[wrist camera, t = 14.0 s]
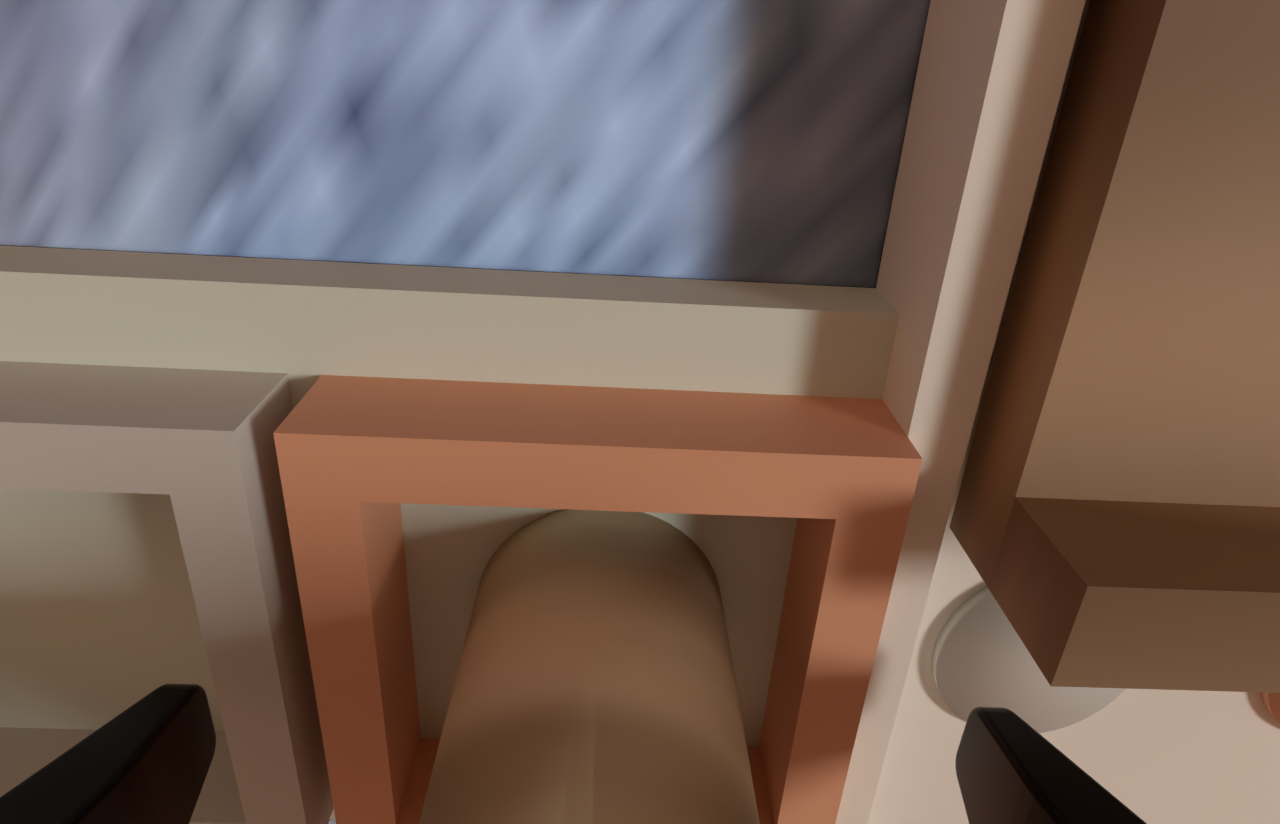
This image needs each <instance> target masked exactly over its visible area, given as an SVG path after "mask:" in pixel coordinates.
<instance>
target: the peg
mask: <svg viewBox="0 0 1280 824" xmlns="http://www.w3.org/2000/svg"><path fill="white" fill-rule="evenodd" d="M419 824H760V822H759V817H758V811H757V805H756V799H755V793H754V787H753V781H752V775H751V769H750V763H749V758H748V752H747V746H746V740H745V734H744V728H743V722H742V716H741V710H740V704H739V699H738V693H737V687H736V681H735V675H734V669H733V663H732V657H731V651H730V645H729V640H728V634H727V628H726V622H725V616H724V610H723V604H722V598H721V592H720V587H719V583H718V580H717V576H716V574H715V572H714V569H713V567H712V565H711V563H710V561H709V560H708V559H707V557H706V556H705V554H704V553H703V551H702V550H701V549H700V548H699V547H698V546H697V545H696V544H695V542H694V541H693V540H692V539H690V538H689V537H688V536H687V535H685V534H684V533H683V532H682V531H681V530H679V529H677V528H676V527H674V526H673V525H671V524H669V523H668V522H666V521H664V520H661V519H659V518H657V517H655V516H653V515H650V514H647V513H644V512H626V511H599V510H572V509H564V510H560V511H556V512H553V513H550V514H548V515H545V516H542V517H540V518H538V519H536V520H534V521H532V522H530V523H528V524H526V525H524V526H523V527H521V528H520V529H519V530H517V531H516V532H514V533H513V534H512V535H510V536H509V537H508V538H507V539H506V540H505V541H504V542H503V543H502V544H501V545H500V546H499V547H498V549H497V550H496V551H495V552H494V554H493V555H492V556H491V558H490V560H489V561H488V563H487V565H486V567H485V569H484V572H483V574H482V577H481V579H480V583H479V587H478V591H477V595H476V599H475V603H474V607H473V611H472V615H471V619H470V623H469V627H468V631H467V635H466V639H465V643H464V647H463V651H462V655H461V659H460V663H459V667H458V671H457V675H456V679H455V683H454V687H453V691H452V695H451V699H450V703H449V706H448V710H447V714H446V718H445V722H444V726H443V730H442V734H441V738H440V742H439V746H438V750H437V754H436V758H435V762H434V766H433V770H432V774H431V778H430V782H429V786H428V790H427V794H426V798H425V802H424V806H423V810H422V814H421V818H420V822H419Z"/></svg>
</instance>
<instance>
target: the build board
mask: <svg viewBox="0 0 1280 824" xmlns="http://www.w3.org/2000/svg"><path fill="white" fill-rule="evenodd" d="M899 315H900V314H899V313H898V312H897V311H896V310H895V308H894V307H893V306H892V305H891V304H890V303H889V302H888V301H887V300H886V299H885V298H884V297H883V295H882V294H881V293H880V292H879V291H878V290H877V289H876V288H859V287H839V286H818V285H798V284H778V283H757V282H737V281H716V280H696V279H675V278H655V277H634V276H614V275H593V274H573V273H553V272H532V271H512V270H491V269H471V268H450V267H430V266H409V265H389V264H368V263H348V262H327V261H307V260H287V259H266V258H246V257H225V256H205V255H184V254H164V253H143V252H123V251H102V250H82V249H62V248H41V247H21V246H0V797H1V796H2V795H4V794H5V793H7V792H8V791H10V790H11V789H12V788H14V787H15V786H17V785H18V784H20V783H21V782H23V781H24V780H25V779H27V778H28V777H30V776H31V775H33V774H34V773H35V772H37V771H38V770H40V769H41V768H43V767H44V766H46V765H47V764H48V763H50V762H51V761H53V760H54V759H56V758H57V757H58V756H60V755H61V754H63V753H64V752H66V751H67V750H69V749H70V748H71V747H73V746H74V745H76V744H77V743H79V742H80V741H81V740H83V739H84V738H86V737H87V736H89V735H90V734H91V733H93V732H94V731H96V730H97V729H99V728H100V727H102V726H103V725H104V724H106V723H107V722H109V721H110V720H112V719H113V718H114V717H116V716H117V715H119V714H120V713H122V712H123V711H125V710H126V709H127V708H129V707H130V706H132V705H133V704H135V703H136V702H137V701H139V700H140V699H142V698H143V697H145V696H146V695H148V694H149V693H150V692H152V691H153V690H155V689H156V688H158V687H160V686H162V685H164V684H197V685H200V686H201V687H202V688H203V689H204V690H205V692H206V695H207V699H208V703H209V708H210V712H211V716H212V720H213V724H214V728H215V733H216V748H215V753H214V756H213V759H212V762H211V765H210V768H209V770H208V773H207V776H206V779H205V781H204V784H203V787H202V790H201V792H200V795H199V798H198V801H197V803H196V806H195V809H194V812H193V814H192V817H191V820H190V823H189V824H328V822H329V820H336V824H419V822H420V818H421V814H422V810H423V806H424V802H425V798H426V794H427V790H428V786H429V782H430V778H431V774H432V770H433V766H434V762H435V758H436V754H437V750H438V746H439V742H440V738H441V734H442V730H443V726H444V722H445V718H446V714H447V710H448V706H449V703H450V699H451V695H452V691H453V687H454V683H455V679H456V675H457V671H458V667H459V663H460V659H461V655H462V651H463V647H464V643H465V639H466V635H467V631H468V627H469V623H470V619H471V615H472V611H473V607H474V603H475V599H476V595H477V591H478V587H479V583H480V579H481V577H482V574H483V572H484V569H485V567H486V565H487V563H488V561H489V560H490V558H491V556H492V555H493V554H494V552H495V551H496V550H497V549H498V547H499V546H500V545H501V544H502V543H503V542H504V541H505V540H506V539H507V538H508V537H509V536H510V535H512V534H513V533H514V532H516V531H517V530H519V529H520V528H521V527H523V526H524V525H526V524H528V523H530V522H532V521H534V520H536V519H538V518H540V517H542V516H545V515H548V514H550V513H553V512H556V511H560V510H564V509H572V510H599V511H626V512H644V513H647V514H650V515H653V516H655V517H657V518H659V519H661V520H664V521H666V522H668V523H669V524H671V525H673V526H674V527H676V528H677V529H679V530H681V531H682V532H683V533H684V534H685V535H687V536H688V537H689V538H690V539H692V540H693V541H694V542H695V544H696V545H697V546H698V547H699V548H700V549H701V550H702V551H703V553H704V554H705V556H706V557H707V559H708V560H709V561H710V563H711V565H712V567H713V569H714V572H715V574H716V576H717V580H718V583H719V587H720V592H721V598H722V604H723V610H724V616H725V622H726V628H727V634H728V640H729V645H730V651H731V657H732V663H733V669H734V675H735V681H736V687H737V693H738V699H739V704H740V710H741V716H742V722H743V728H744V734H745V740H746V746H747V752H748V758H749V763H750V769H751V775H752V781H753V787H754V793H755V799H756V805H757V811H758V817H759V822H760V824H835V823H836V819H837V815H838V810H839V806H840V802H841V798H842V794H843V789H844V785H845V781H846V777H847V773H848V769H849V764H850V760H851V756H852V752H853V748H854V744H855V739H856V735H857V731H858V727H859V723H860V718H861V714H862V710H863V706H864V702H865V698H866V693H867V689H868V685H869V681H870V677H871V673H872V668H873V664H874V660H875V656H876V652H877V647H878V643H879V639H880V635H881V631H882V627H883V622H884V618H885V614H886V610H887V606H888V602H889V597H890V593H891V589H892V585H893V581H894V576H895V572H896V568H897V564H898V560H899V556H900V551H901V547H902V543H903V539H904V535H905V531H906V526H907V522H908V518H909V514H910V510H911V505H912V501H913V497H914V493H915V489H916V485H917V480H918V476H919V472H920V468H921V464H922V460H923V459H922V457H921V456H920V454H919V453H918V451H917V450H916V448H915V447H914V445H913V444H912V442H911V441H910V440H909V438H908V437H907V435H906V434H905V432H904V431H903V429H902V428H901V426H900V425H899V423H898V422H897V420H896V419H895V417H894V416H893V414H892V413H891V411H890V410H889V408H888V407H887V405H886V404H885V402H884V401H883V399H882V398H883V393H884V388H885V383H886V378H887V373H888V369H889V364H890V359H891V354H892V349H893V344H894V340H895V335H896V330H897V325H898V320H899Z"/></svg>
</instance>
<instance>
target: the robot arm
mask: <svg viewBox="0 0 1280 824" xmlns="http://www.w3.org/2000/svg"><path fill="white" fill-rule="evenodd" d="M215 748H216V733H215V728H214V724H213V720H212V716H211V712H210V708H209V703H208V699H207V695H206V692H205V690H204V689H203V688H202V687H201V686H200V685H197V684H164V685H162V686H160V687H158V688H156V689H155V690H153V691H152V692H150V693H149V694H148V695H146V696H145V697H143V698H142V699H140V700H139V701H137V702H136V703H135V704H133V705H132V706H130V707H129V708H127V709H126V710H125V711H123V712H122V713H120V714H119V715H117V716H116V717H114V718H113V719H112V720H110V721H109V722H107V723H106V724H104V725H103V726H102V727H100V728H99V729H97V730H96V731H94V732H93V733H91V734H90V735H89V736H87V737H86V738H84V739H83V740H81V741H80V742H79V743H77V744H76V745H74V746H73V747H71V748H70V749H69V750H67V751H66V752H64V753H63V754H61V755H60V756H58V757H57V758H56V759H54V760H53V761H51V762H50V763H48V764H47V765H46V766H44V767H43V768H41V769H40V770H38V771H37V772H35V773H34V774H33V775H31V776H30V777H28V778H27V779H25V780H24V781H23V782H21V783H20V784H18V785H17V786H15V787H14V788H12V789H11V790H10V791H8V792H7V793H5V794H4V795H2V796H1V797H0V824H189V823H190V820H191V817H192V814H193V812H194V809H195V806H196V803H197V801H198V798H199V795H200V792H201V790H202V787H203V784H204V781H205V779H206V776H207V773H208V770H209V768H210V765H211V762H212V759H213V756H214V753H215ZM955 767H956V775H957V779H958V783H959V787H960V791H961V794H962V798H963V802H964V806H965V810H966V814H967V817H968V821H969V824H1147V823H1146V822H1145V821H1143V820H1142V819H1141V818H1140V817H1139V816H1137V815H1136V814H1135V813H1134V812H1133V811H1131V810H1130V809H1129V808H1128V807H1127V806H1125V805H1124V804H1123V803H1122V802H1121V801H1119V800H1118V799H1117V798H1116V797H1115V796H1113V795H1112V794H1111V793H1110V792H1109V791H1107V790H1106V789H1105V788H1104V787H1103V786H1101V785H1100V784H1099V783H1098V782H1097V781H1096V780H1094V779H1093V778H1092V777H1091V776H1090V775H1088V774H1087V773H1086V772H1085V771H1084V770H1082V769H1081V768H1080V767H1079V766H1078V765H1076V764H1075V763H1074V762H1073V761H1072V760H1070V759H1069V758H1068V757H1067V756H1066V755H1064V754H1063V753H1062V752H1061V751H1060V750H1058V749H1057V748H1056V747H1055V746H1054V745H1052V744H1051V743H1050V742H1049V741H1048V740H1047V739H1045V738H1044V737H1043V736H1042V735H1041V734H1039V733H1038V732H1037V731H1036V730H1035V729H1033V728H1032V727H1031V726H1030V725H1029V724H1027V723H1026V722H1025V721H1024V720H1023V719H1021V718H1020V717H1019V716H1018V715H1017V714H1015V713H1014V712H1013V711H1011V710H1009V709H1007V708H1000V707H976V708H974V709H973V710H972V711H971V712H970V714H969V716H968V719H967V722H966V725H965V728H964V731H963V734H962V737H961V741H960V744H959V747H958V750H957V754H956V760H955Z"/></svg>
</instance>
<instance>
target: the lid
mask: <svg viewBox="0 0 1280 824" xmlns="http://www.w3.org/2000/svg"><path fill="white" fill-rule="evenodd" d="M950 529H951V531H952V532H953V534H954V535H955V537H956V538H957V540H958V542H959V543H960V545H961V546H962V548H963V549H964V551H965V553H966V554H967V556H968V557H969V559H970V560H971V562H972V564H973V565H974V567H975V568H976V570H977V571H978V573H979V575H980V576H981V578H982V579H983V581H984V582H985V584H986V586H987V587H988V589H989V590H990V592H991V593H992V595H993V596H994V598H995V600H996V601H997V603H998V604H999V606H1000V607H1001V609H1002V611H1003V612H1004V614H1005V615H1006V617H1007V618H1008V620H1009V622H1010V623H1011V625H1012V626H1013V628H1014V629H1015V631H1016V633H1017V634H1018V636H1019V637H1020V639H1021V640H1022V642H1023V644H1024V645H1025V647H1026V648H1027V650H1028V651H1029V653H1030V655H1031V656H1032V658H1033V659H1034V661H1035V662H1036V664H1037V666H1038V667H1039V669H1040V670H1041V672H1042V673H1043V675H1044V677H1045V678H1046V680H1047V681H1048V683H1049V684H1050V686H1056V687H1091V688H1126V689H1161V690H1196V691H1231V692H1266V693H1280V0H1090V3H1089V7H1088V11H1087V14H1086V18H1085V22H1084V26H1083V29H1082V33H1081V37H1080V41H1079V44H1078V48H1077V52H1076V55H1075V59H1074V63H1073V67H1072V70H1071V74H1070V78H1069V82H1068V85H1067V89H1066V93H1065V97H1064V100H1063V104H1062V108H1061V112H1060V115H1059V119H1058V123H1057V127H1056V130H1055V134H1054V138H1053V142H1052V145H1051V149H1050V153H1049V156H1048V160H1047V164H1046V168H1045V171H1044V175H1043V179H1042V183H1041V186H1040V190H1039V194H1038V198H1037V201H1036V205H1035V209H1034V213H1033V216H1032V220H1031V224H1030V228H1029V231H1028V235H1027V239H1026V242H1025V246H1024V250H1023V254H1022V257H1021V261H1020V265H1019V269H1018V272H1017V276H1016V280H1015V284H1014V287H1013V291H1012V295H1011V299H1010V302H1009V306H1008V310H1007V314H1006V317H1005V321H1004V325H1003V329H1002V332H1001V336H1000V340H999V343H998V347H997V351H996V355H995V358H994V362H993V366H992V370H991V373H990V377H989V381H988V385H987V388H986V392H985V396H984V400H983V403H982V407H981V411H980V415H979V418H978V422H977V426H976V429H975V433H974V437H973V441H972V444H971V448H970V452H969V456H968V459H967V463H966V467H965V471H964V474H963V478H962V482H961V486H960V489H959V493H958V497H957V501H956V504H955V508H954V512H953V516H952V519H951V523H950Z"/></svg>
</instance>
